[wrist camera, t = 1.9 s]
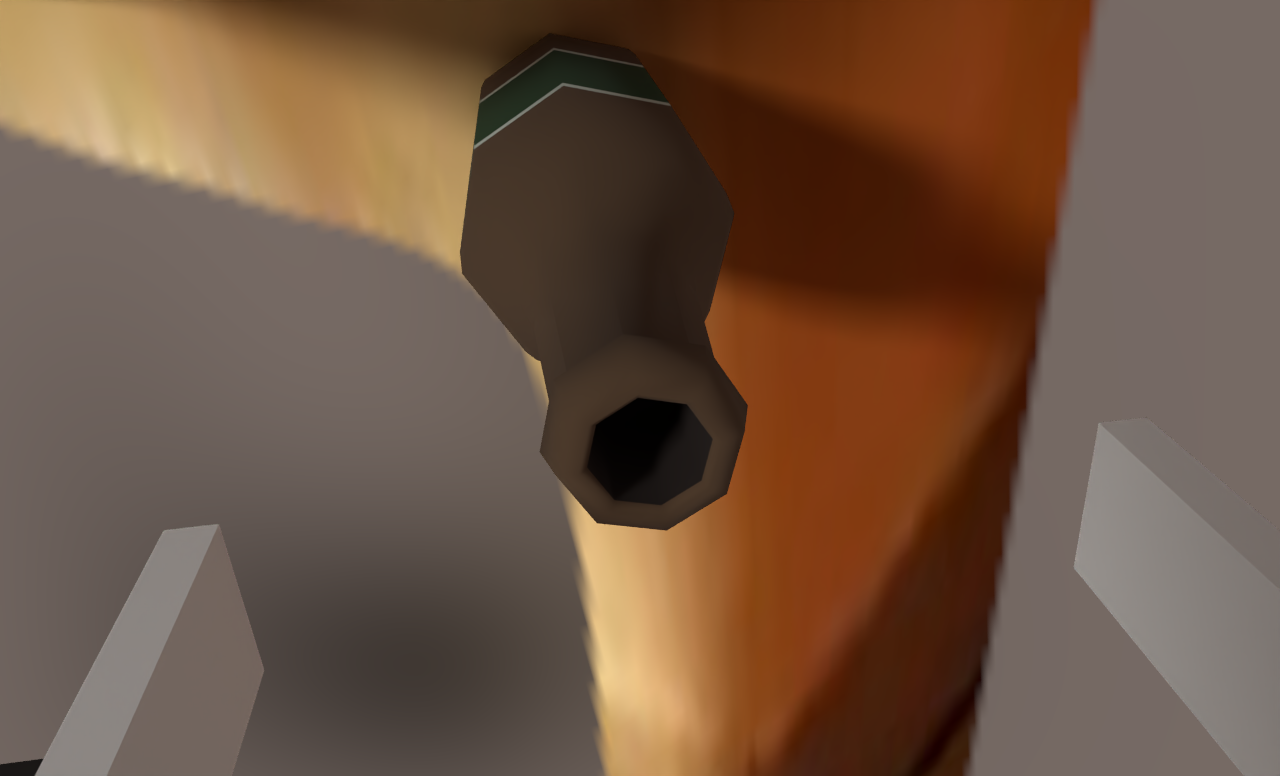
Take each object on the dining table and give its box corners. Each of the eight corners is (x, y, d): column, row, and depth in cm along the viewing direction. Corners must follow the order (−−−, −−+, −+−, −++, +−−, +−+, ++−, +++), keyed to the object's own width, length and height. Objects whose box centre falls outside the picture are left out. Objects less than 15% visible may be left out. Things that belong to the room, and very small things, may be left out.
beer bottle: (652, 6, 36) (853, 191, 15) (687, 208, 40) (888, 583, 19) (444, 51, 36) (355, 301, 15) (497, 250, 40) (486, 675, 19)
